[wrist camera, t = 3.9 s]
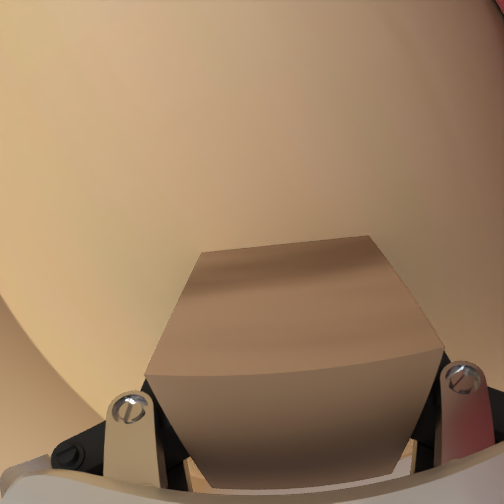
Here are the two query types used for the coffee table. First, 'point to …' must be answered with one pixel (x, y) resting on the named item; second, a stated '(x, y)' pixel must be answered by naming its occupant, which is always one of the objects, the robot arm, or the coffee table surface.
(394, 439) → the walnut cube
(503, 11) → the puzzle cube
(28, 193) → the coffee table surface
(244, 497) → the robot arm
